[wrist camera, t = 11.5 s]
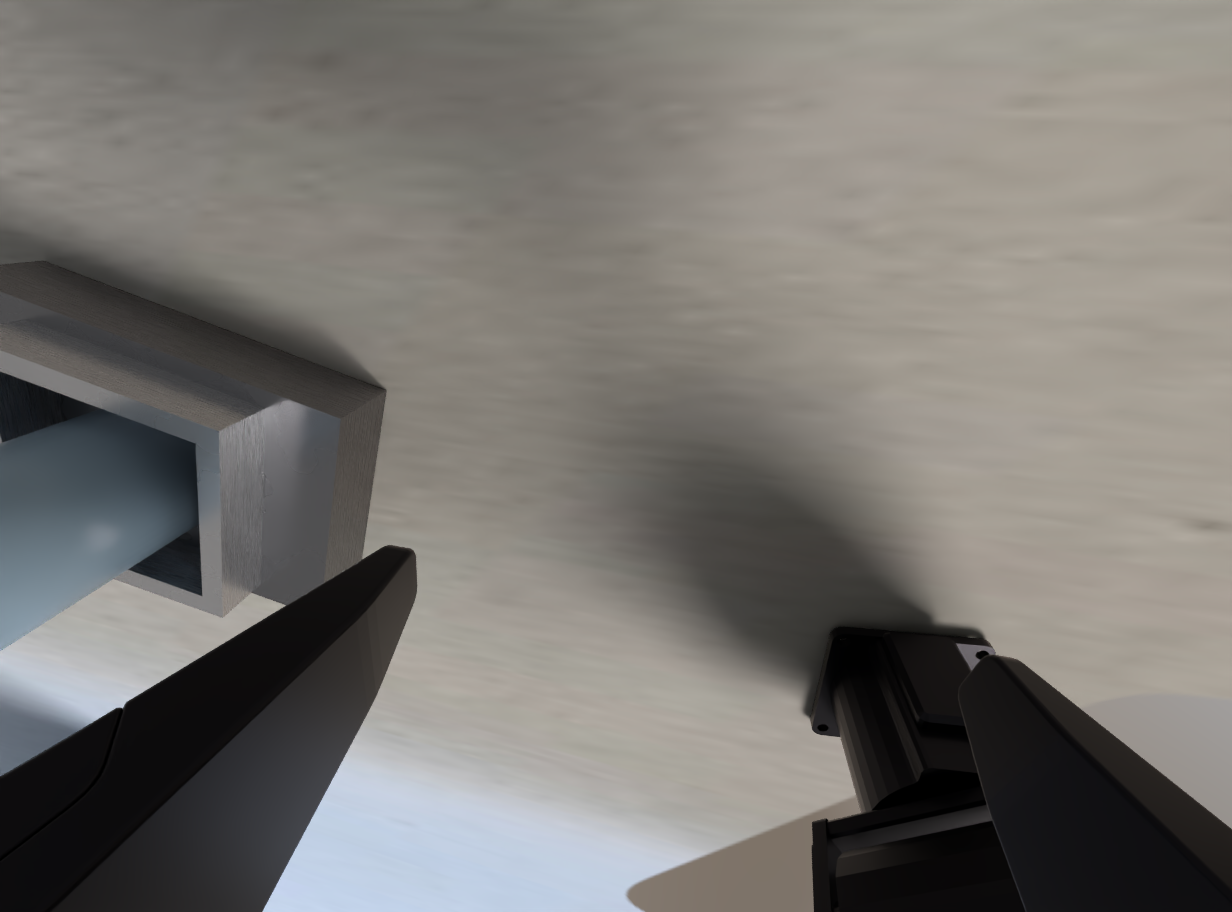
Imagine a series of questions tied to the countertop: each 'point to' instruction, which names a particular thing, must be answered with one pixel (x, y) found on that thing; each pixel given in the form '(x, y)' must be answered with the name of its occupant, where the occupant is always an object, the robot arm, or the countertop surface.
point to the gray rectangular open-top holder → (202, 431)
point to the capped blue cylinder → (85, 510)
